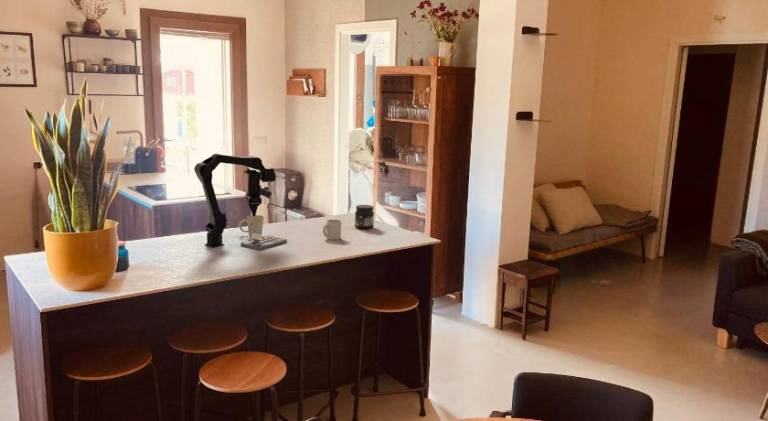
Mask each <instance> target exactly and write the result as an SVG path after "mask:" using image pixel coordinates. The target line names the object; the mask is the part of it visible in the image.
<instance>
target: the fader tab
mask: <svg viewBox="0 0 768 421" xmlns="http://www.w3.org/2000/svg"><path fill="white" fill-rule="evenodd" d="M262 237H263V234H259V233H252V237H251V239H252V240H253V239H254V243H258V242H259V240H260V239H262Z"/></svg>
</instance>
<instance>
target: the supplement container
mask: <svg viewBox="0 0 768 421" xmlns="http://www.w3.org/2000/svg"><path fill="white" fill-rule="evenodd" d="M374 220H375V212H374V206H373V205H371V204H358V205H356V207H355V212H354V227H355V228H356V229H358V230H366V231H367V230H368V231H369V230H371V229H373V228H374V227H375V226H374V223H375V221H374Z"/></svg>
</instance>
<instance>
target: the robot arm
mask: <svg viewBox="0 0 768 421" xmlns="http://www.w3.org/2000/svg"><path fill="white" fill-rule="evenodd" d="M220 164H228V165H238V166H244V167H246V169H245V170H244V171H243V173H244V174H245V175H247V190H246V192H245V198H246V202H247V204H248V207H249V210H250V213H251V215H253V217H255V215H257V211H258V208H259V206H260V205H261V204H262V203H263V199H262V197H265V198H267V199H270V198H271V196H272V193H273V192H272V191H271V190H270V189H269V186H268V187H267V186H264V187H262V185H261V182H262V183H275V181H277V180H276V179H277V175H276V172H275V168H274V167H269V168H266V167H265V166H264V165H263V161H262V159H261V158H260V157H259V156H258V157H257V156H255V155H254V156H253V155H247V156H235V155H225V154H220V153H217V152H216V153H213V154H212V155H210V156H209V157H208V158H206V159H204V160H203V161H201V162H198V163H196V165H195V166H194V168H193V169H194V170H193V171H194V173H195V175H196V177H197V178H198V180H199V181H200V183H201V185H202V189H203V192H204V197H205V199H206V203H207V206H208V210H209V216H208V219H209V222H208V223H207V224H206V226H205V227H204V229H205V231H206V232H207V233H206V243H205V244H204V246H207V247H210V248H217V247H222V246H224V245H225V243H223V233H224V231H225V228H226V227H228V223H227V222H228V219H227V215H226V213H225V212H223V211H221V209H220V207H219V206H220V205H219V202H218V200H217V196H216V192H215V189H214V184H213V171H214V170H216V168H217V167H218V166H219V165H220ZM247 167H248V168H247ZM261 196H262V197H261Z"/></svg>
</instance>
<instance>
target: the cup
mask: <svg viewBox="0 0 768 421" xmlns="http://www.w3.org/2000/svg"><path fill="white" fill-rule="evenodd" d="M322 233H323V236H324V237H326V239H327V240H331V241H337V240H341V237H342V221H341V220H340V219H327V220H326V224H324V226H323V228H322Z"/></svg>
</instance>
